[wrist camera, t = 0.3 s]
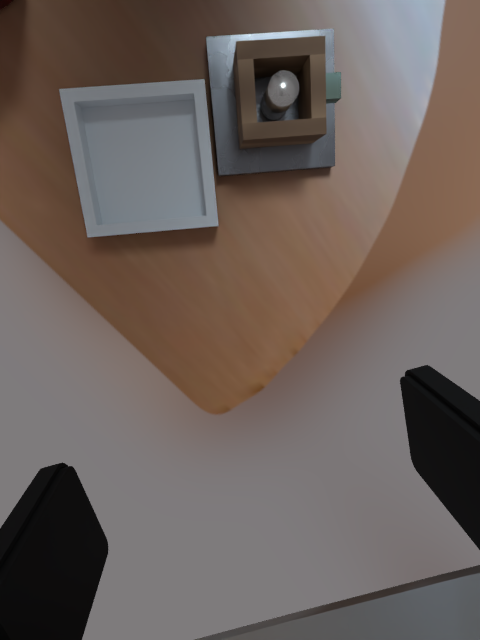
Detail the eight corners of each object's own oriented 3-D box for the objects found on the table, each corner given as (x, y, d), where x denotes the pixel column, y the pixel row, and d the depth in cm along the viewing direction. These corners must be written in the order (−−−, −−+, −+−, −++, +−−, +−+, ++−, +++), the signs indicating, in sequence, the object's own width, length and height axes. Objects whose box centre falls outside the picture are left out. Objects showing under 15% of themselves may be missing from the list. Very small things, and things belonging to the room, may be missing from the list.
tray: (69, 97, 33) (58, 89, 31) (204, 88, 34) (204, 79, 31) (95, 235, 36) (87, 237, 34) (218, 225, 37) (218, 225, 35)
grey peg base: (206, 42, 33) (205, 7, 27) (329, 35, 33) (353, -2, 28) (218, 176, 36) (220, 169, 30) (331, 167, 36) (353, 159, 31)
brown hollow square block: (232, 63, 32) (236, 41, 28) (323, 57, 33) (340, 34, 28) (239, 149, 34) (243, 140, 30) (325, 142, 35) (341, 132, 30)
